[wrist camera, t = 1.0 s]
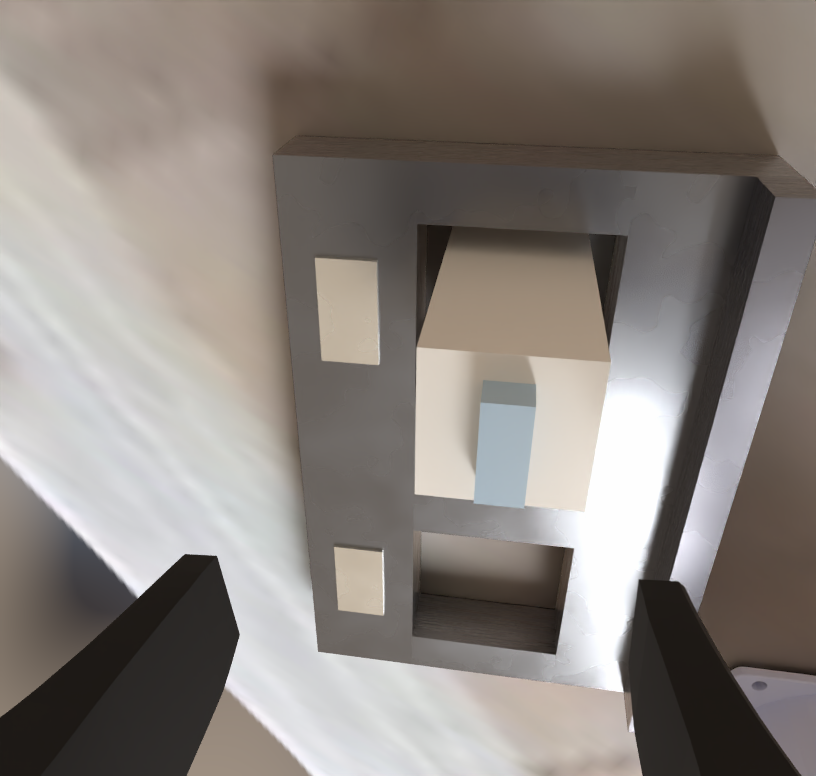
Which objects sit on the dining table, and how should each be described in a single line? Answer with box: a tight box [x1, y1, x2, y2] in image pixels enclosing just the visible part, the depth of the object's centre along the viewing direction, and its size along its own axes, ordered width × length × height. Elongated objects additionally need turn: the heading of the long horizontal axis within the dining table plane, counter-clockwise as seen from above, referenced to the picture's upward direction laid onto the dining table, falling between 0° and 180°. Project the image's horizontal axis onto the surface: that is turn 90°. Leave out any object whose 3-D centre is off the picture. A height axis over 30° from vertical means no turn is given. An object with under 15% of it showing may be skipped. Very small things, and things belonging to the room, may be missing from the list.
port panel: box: [273, 136, 816, 732], centre depth 21 cm, size 12×18×4 cm, turn 0°
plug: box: [415, 226, 611, 512], centre depth 17 cm, size 4×4×8 cm
